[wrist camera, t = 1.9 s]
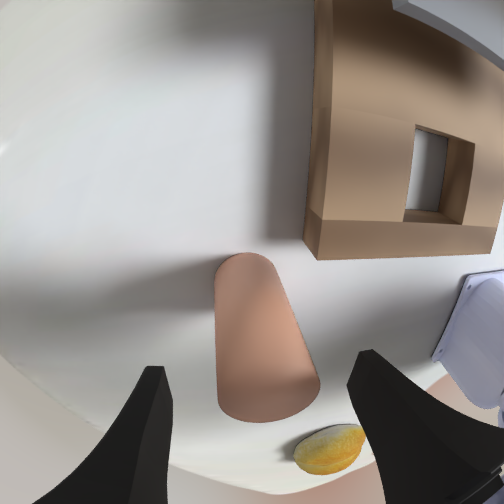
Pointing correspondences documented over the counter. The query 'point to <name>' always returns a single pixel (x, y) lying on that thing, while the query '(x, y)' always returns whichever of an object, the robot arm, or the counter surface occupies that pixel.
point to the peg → (259, 344)
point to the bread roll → (330, 449)
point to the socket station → (405, 126)
